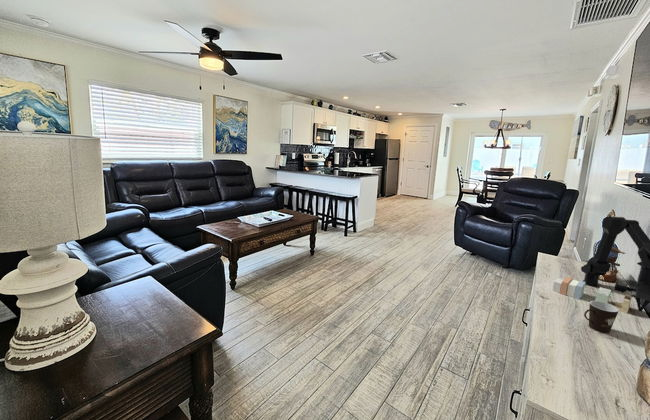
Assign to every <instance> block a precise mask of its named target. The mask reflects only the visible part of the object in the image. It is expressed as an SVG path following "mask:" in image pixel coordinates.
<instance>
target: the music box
mask: <svg viewBox="0 0 650 420" xmlns="http://www.w3.org/2000/svg"><path fill="white" fill-rule="evenodd" d="M611 252H612V253H614V254H613V255H614V257H608V259H607V260H608V263H611V266H612V265H613V266H616V267H615V269H613V270H614V274H615V275H616V274H618V273H619V270H618V267H621V264H620V263H619V262H617V261H619V258H620V257H618V260H617V256H616V254H618V255H619V256H620V255H621V254H622V255H624V254H626V252H624V251H621V250H620V249H618V248H616V247H614V246H613V247H612V249H611V251H610V253H611ZM595 254H596V252H595V253H594V255H593V256H595ZM588 261H589V260H586V263H587V262H588ZM615 275H602V276H603V277H604V281H603V282H606V281H609V282H608V283H613V282H612V281H613V280H614V279H615V280H616V278H617V275H616V276H615Z"/></svg>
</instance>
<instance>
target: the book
mask: <svg viewBox="0 0 650 420" xmlns="http://www.w3.org/2000/svg"><path fill="white" fill-rule="evenodd" d="M611 293H612V290H611V289H609V288H605V287H601V286H600V287H599V288H598V290H597V291H596V295H595V299H594V301H601V302H605V303H608V304H609V301H610V297H611Z"/></svg>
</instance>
